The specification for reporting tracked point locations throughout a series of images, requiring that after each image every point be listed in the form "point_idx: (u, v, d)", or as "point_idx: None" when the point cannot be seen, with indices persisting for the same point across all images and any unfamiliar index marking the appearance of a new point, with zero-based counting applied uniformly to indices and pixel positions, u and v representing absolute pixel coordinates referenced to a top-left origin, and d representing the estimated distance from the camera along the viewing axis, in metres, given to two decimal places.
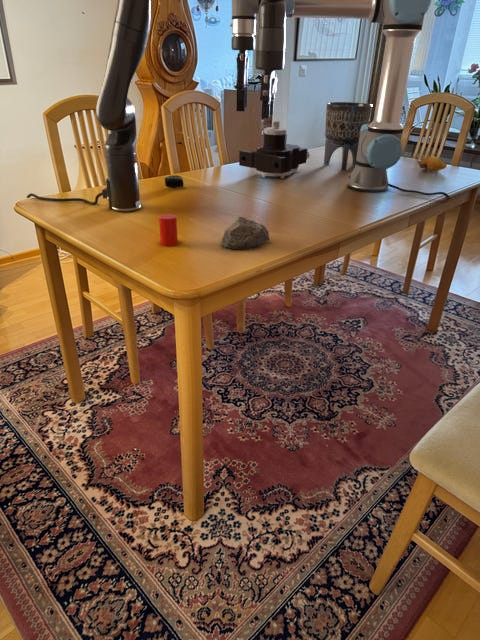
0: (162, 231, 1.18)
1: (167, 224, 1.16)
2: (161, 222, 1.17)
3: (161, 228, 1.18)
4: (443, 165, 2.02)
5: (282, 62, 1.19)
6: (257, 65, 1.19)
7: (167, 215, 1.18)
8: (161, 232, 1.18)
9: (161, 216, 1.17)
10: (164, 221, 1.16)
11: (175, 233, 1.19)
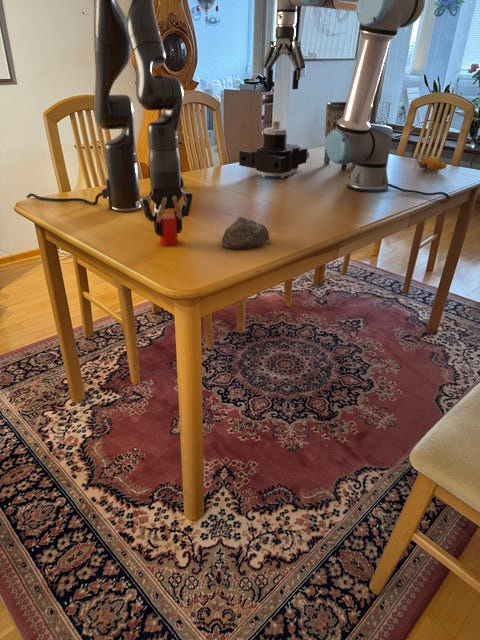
0: (162, 231, 1.18)
1: (167, 224, 1.16)
2: (161, 222, 1.17)
3: None
4: (443, 165, 2.02)
5: None
6: (178, 184, 1.12)
7: (167, 215, 1.18)
8: None
9: None
10: (164, 221, 1.16)
11: (175, 233, 1.19)
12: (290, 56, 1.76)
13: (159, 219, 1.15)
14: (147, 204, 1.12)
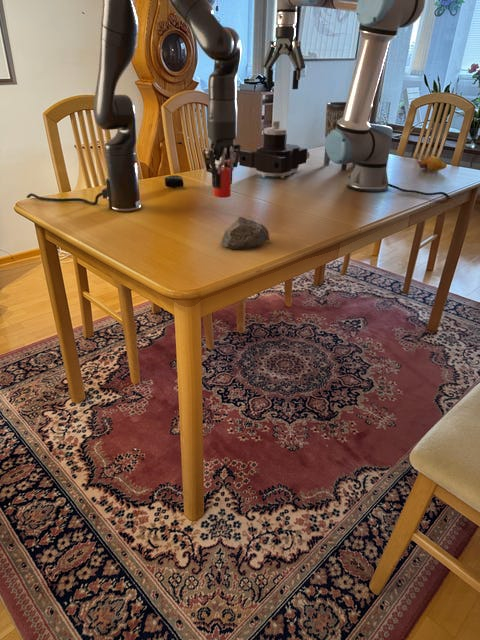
0: None
1: (226, 175, 1.21)
2: (220, 173, 1.21)
3: None
4: (443, 165, 2.02)
5: None
6: (236, 134, 1.18)
7: None
8: None
9: None
10: (224, 173, 1.21)
11: (230, 184, 1.24)
12: (290, 56, 1.76)
13: (219, 170, 1.20)
14: (212, 155, 1.16)
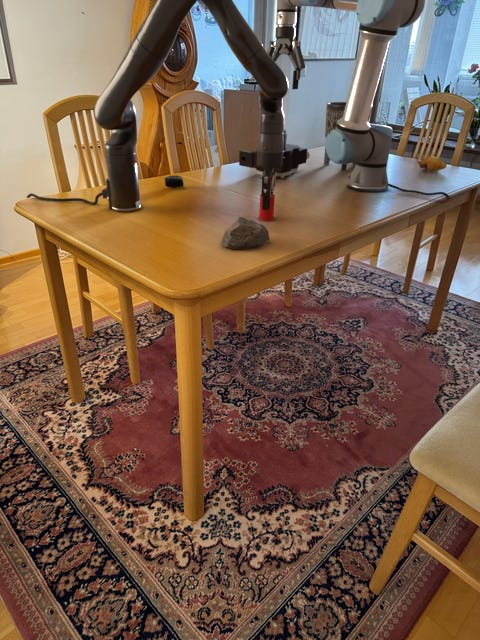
0: None
1: (273, 200, 1.37)
2: None
3: None
4: (443, 165, 2.02)
5: None
6: None
7: None
8: None
9: None
10: (272, 199, 1.36)
11: None
12: (290, 56, 1.76)
13: (270, 194, 1.34)
14: (270, 181, 1.30)
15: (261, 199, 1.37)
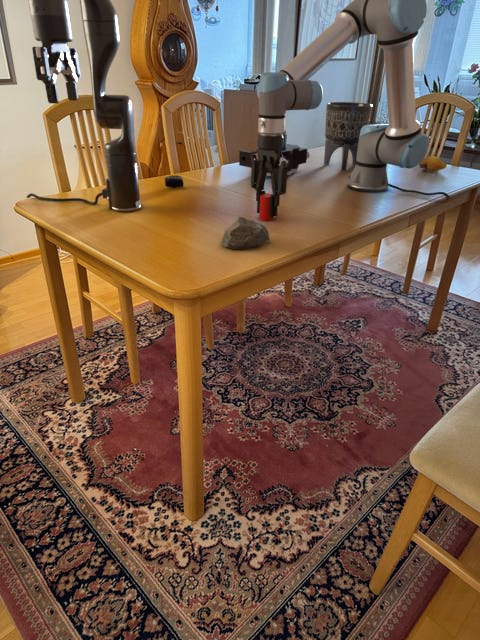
0: (268, 209, 1.37)
1: None
2: (269, 200, 1.36)
3: (268, 206, 1.37)
4: (443, 165, 2.02)
5: None
6: None
7: (264, 194, 1.38)
8: (267, 209, 1.38)
9: (264, 196, 1.36)
10: None
11: None
12: (272, 175, 1.32)
13: (55, 79, 0.95)
14: (46, 55, 0.91)
15: (261, 199, 1.37)
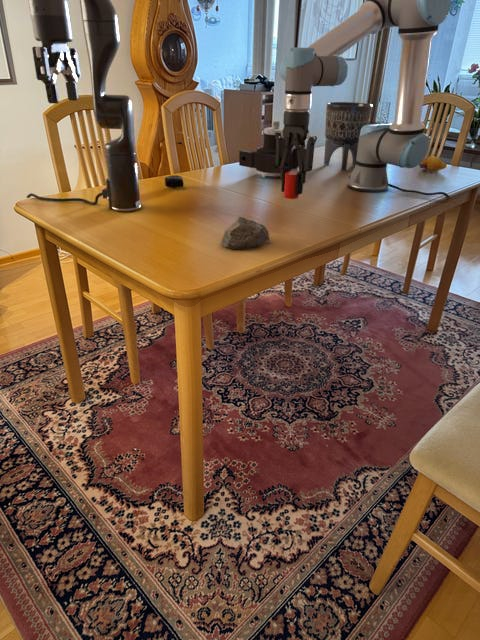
0: (294, 186, 1.38)
1: None
2: (295, 178, 1.36)
3: (293, 183, 1.37)
4: (443, 165, 2.02)
5: None
6: None
7: (289, 172, 1.38)
8: (293, 187, 1.38)
9: (290, 174, 1.37)
10: None
11: None
12: (298, 152, 1.32)
13: (55, 79, 0.95)
14: (46, 55, 0.91)
15: (287, 177, 1.37)
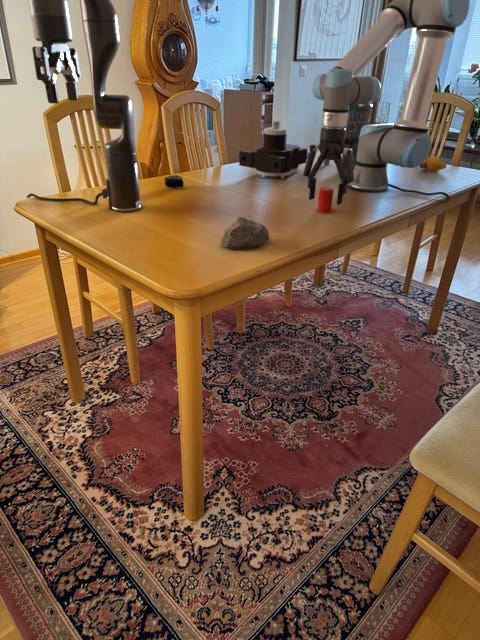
0: (328, 201, 1.46)
1: None
2: (329, 193, 1.45)
3: (328, 198, 1.45)
4: (443, 165, 2.02)
5: None
6: None
7: (323, 188, 1.46)
8: (327, 202, 1.46)
9: (325, 189, 1.45)
10: (332, 192, 1.45)
11: None
12: (338, 165, 1.39)
13: (55, 79, 0.95)
14: (46, 55, 0.91)
15: (322, 192, 1.45)
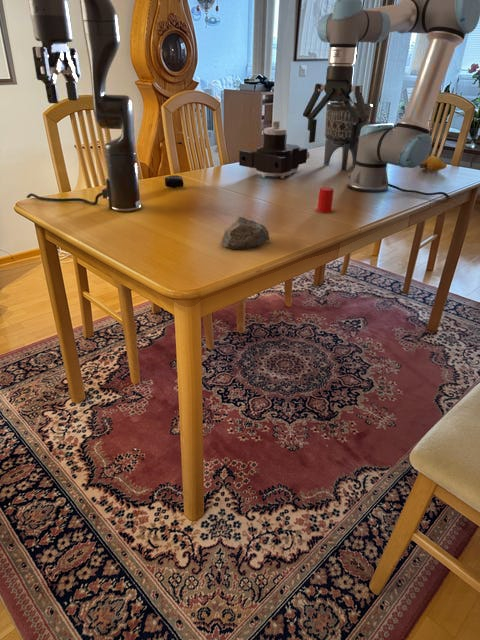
0: (328, 201, 1.46)
1: None
2: (329, 193, 1.45)
3: (328, 198, 1.45)
4: (443, 165, 2.02)
5: None
6: None
7: (323, 188, 1.46)
8: (327, 202, 1.46)
9: (325, 189, 1.45)
10: (332, 192, 1.45)
11: None
12: (348, 105, 1.30)
13: (55, 79, 0.95)
14: (46, 55, 0.91)
15: (322, 192, 1.45)
